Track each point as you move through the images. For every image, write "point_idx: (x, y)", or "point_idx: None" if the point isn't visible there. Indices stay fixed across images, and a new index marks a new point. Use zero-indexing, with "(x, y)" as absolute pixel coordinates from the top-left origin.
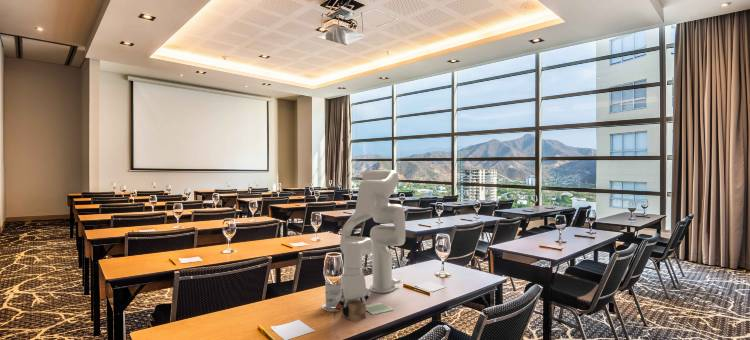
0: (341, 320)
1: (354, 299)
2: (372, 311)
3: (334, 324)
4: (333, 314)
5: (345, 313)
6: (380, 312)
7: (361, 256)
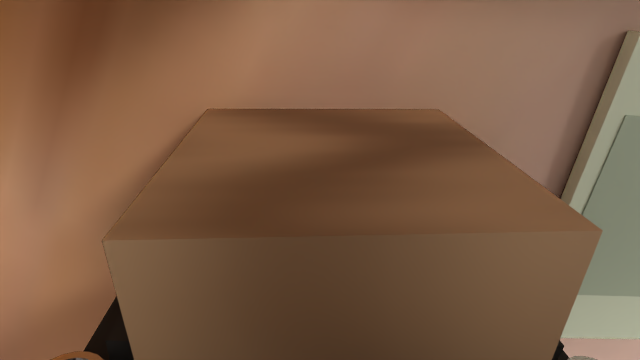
0: None
1: (471, 352)
2: None
3: (3, 334)
4: (59, 21)
5: None
6: (613, 337)
7: None
